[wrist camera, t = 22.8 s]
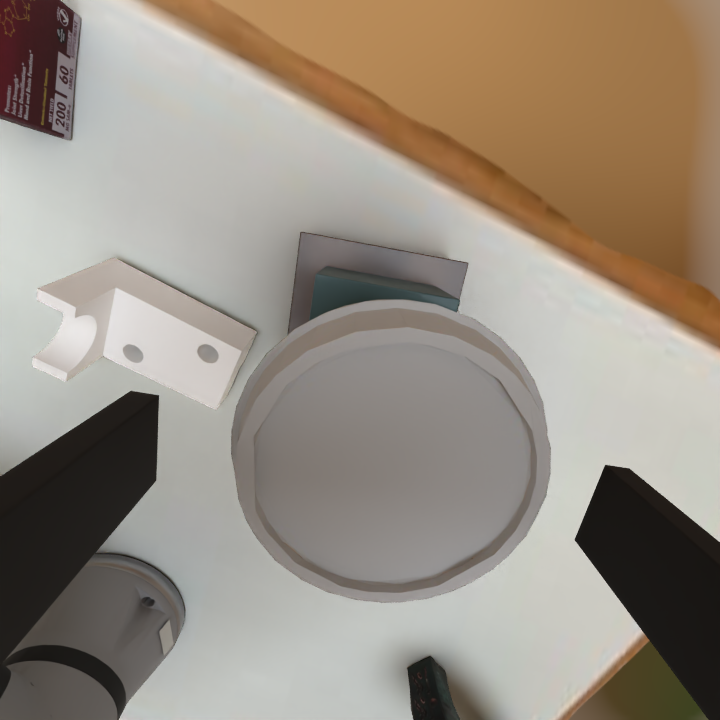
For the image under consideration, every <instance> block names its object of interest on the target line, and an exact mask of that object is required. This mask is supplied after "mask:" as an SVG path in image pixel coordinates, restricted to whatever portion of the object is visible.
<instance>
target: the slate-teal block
mask: <svg viewBox="0 0 720 720" xmlns="http://www.w3.org/2000/svg"><path fill="white" fill-rule="evenodd" d="M371 300H412V301H418V302H424V303H431V304H436V305H439V306H441V307H444V308H447V309H449V310H452V311H454V312H457V310H458V306H459V302H460V300H459V299H458V298H456V297H454V296H452V295H450V294H449V293H447V292H445V291H443V290H442V289H440V288H438V287H436V286H434V285H428V284H423V283H417V282H412V281H406V280H401V279H395V278H390V277H384V276H379V275H373V274H368V273H362V272H357V271H352V270H346V269H341V268H335V267H330V266H326V267H324V268H323V269H322V270H320V271H319V272H318V273H317V274H316V275H315V282H314V289H313V296H312V303H311V310H310V317H309V321H311V320H312V319H314V318H316V317H318V316H320V315H322V314H324V313H326V312H328V311H331V310H334V309H337V308H340V307H343V306H346V305H351V304H355V303H360V302H365V301H371Z"/></svg>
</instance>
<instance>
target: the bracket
mask: <svg viewBox="0 0 720 720" xmlns="http://www.w3.org/2000/svg"><path fill="white" fill-rule="evenodd" d="M37 301H39V302H41V303H44V304H46V305H48V306H50V307H52V308H54V309H56V310H58V311H60V312H62V313H63V319H62V323H61V325H60V328H59V330H58V331H57V333H56V335H55V336H54V338H53V339H52V340H51V342H50V343H49V344H48V345H47V346H46V347H45V348H44V349H43V350H42V351H40V352H39V353H38V354H36V355H35V356H33V357H32V367H34V368H37V369H39V370H41V371H43V372H45V373H47V374H50V375H52V376H54V377H56V378H58V379H60V380H63V381H65V382H67V381H68V380H70V379H71V378H72V377H74V376H75V375H77V374H78V373H80V372H81V371H82V370H84V369H85V368H87V367H88V366H89V365H91V364H92V363H94V362H95V361H97V360H98V359H99V358H101V357H102V356H103V357H105V358H107V359H110V360H112V361H114V362H116V363H118V364H120V365H122V366H124V367H126V368H128V369H130V370H133V371H135V372H137V373H139V374H141V375H143V376H145V377H147V378H149V379H151V380H153V381H156V382H158V383H160V384H162V385H164V386H166V387H168V388H170V389H172V390H174V391H176V392H179V393H181V394H183V395H185V396H187V397H189V398H191V399H193V400H195V401H197V402H199V403H202V404H204V405H206V406H208V407H210V408H212V409H214V410H217V409H218V407H219V406H220V405H221V403H222V402H223V400H224V399H225V398H226V396H227V395H228V393H229V391H230V389H231V386H232V384H233V382H234V380H235V377H236V375H237V373H238V371H239V368H240V366H241V365H242V364H243V362H244V361H245V358H246V356H247V354H248V352H249V349H250V347H251V345H252V343H253V340H254V338H255V336H256V333H257V332H256V331H255V330H253V329H251V328H249V327H247V326H245V325H243V324H241V323H239V322H237V321H235V320H233V319H231V318H229V317H228V316H226V315H224V314H222V313H220V312H218V311H216V310H214V309H212V308H210V307H208V306H206V305H204V304H203V303H201V302H199V301H197V300H195V299H193V298H191V297H189V296H187V295H185V294H183V293H181V292H179V291H177V290H176V289H174V288H172V287H170V286H168V285H166V284H164V283H162V282H160V281H158V280H156V279H154V278H152V277H151V276H149V275H147V274H145V273H143V272H141V271H139V270H137V269H135V268H133V267H131V266H129V265H127V264H125V263H124V262H122V261H120V260H118V259H116V258H112V259H109V260H107V261H104V262H102V263H99V264H97V265H94V266H92V267H89V268H87V269H84V270H82V271H79V272H77V273H75V274H72V275H70V276H67V277H65V278H62V279H60V280H57V281H55V282H52V283H50V284H47V285H45V286H42V287H40V288H37Z"/></svg>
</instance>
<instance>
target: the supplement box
mask: <svg viewBox="0 0 720 720" xmlns="http://www.w3.org/2000/svg"><path fill="white" fill-rule="evenodd" d="M80 24H81V18H80V17H79V16H78V15H77V14H76V13H75V12H73V11H72V10H71V9H70V8H69V7H67V6H66V5H65V4H64V3H63V2H61V1H60V0H0V119H3V120H6V121H9V122H12V123H16V124H18V125H21V126H24V127H28V128H31V129H34V130H37V131H40V132H44V133H47V134H50V135H53V136H57V137H60V138H63V139H67V140H70V139H71V124H72V123H71V122H72V110H73V95H74V80H75V69H76V58H77V48H78V40H79V31H80Z"/></svg>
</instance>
